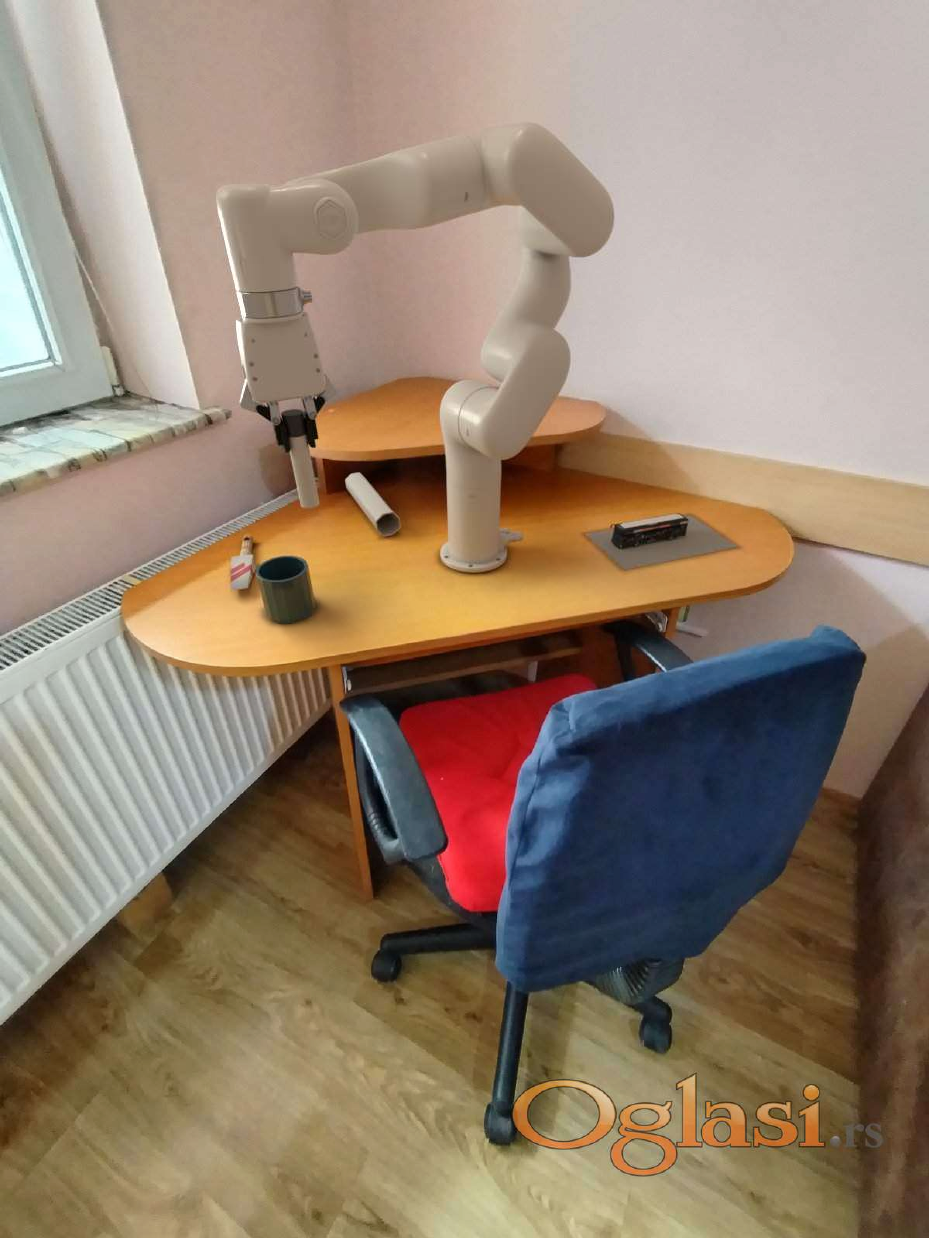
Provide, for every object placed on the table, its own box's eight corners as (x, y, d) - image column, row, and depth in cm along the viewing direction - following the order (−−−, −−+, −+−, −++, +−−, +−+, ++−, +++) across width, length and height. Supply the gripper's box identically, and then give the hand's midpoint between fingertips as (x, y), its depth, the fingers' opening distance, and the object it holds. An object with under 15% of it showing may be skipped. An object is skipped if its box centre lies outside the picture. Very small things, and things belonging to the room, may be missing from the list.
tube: (338, 475, 135) (371, 520, 116) (358, 464, 135) (395, 507, 117) (348, 495, 138) (381, 541, 120) (368, 484, 139) (405, 528, 120)
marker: (317, 498, 93) (300, 407, 84) (322, 506, 91) (304, 413, 82) (298, 502, 92) (279, 411, 83) (302, 510, 90) (283, 417, 81)
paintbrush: (224, 583, 100) (237, 533, 116) (228, 596, 102) (240, 545, 118) (248, 580, 101) (257, 530, 117) (252, 594, 102) (260, 543, 118)
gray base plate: (586, 534, 120) (588, 515, 117) (691, 515, 126) (695, 496, 124) (624, 569, 108) (627, 549, 106) (737, 547, 115) (743, 527, 112)
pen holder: (309, 591, 103) (301, 551, 99) (320, 616, 98) (312, 574, 93) (262, 602, 101) (252, 562, 96) (270, 628, 95) (260, 586, 90)
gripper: (327, 294, 80) (347, 430, 91) (200, 307, 75) (237, 448, 86) (342, 303, 75) (361, 445, 86) (205, 316, 69) (244, 466, 80)
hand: (298, 446), depth 86 cm, fingers closed on marker, 3 cm apart
